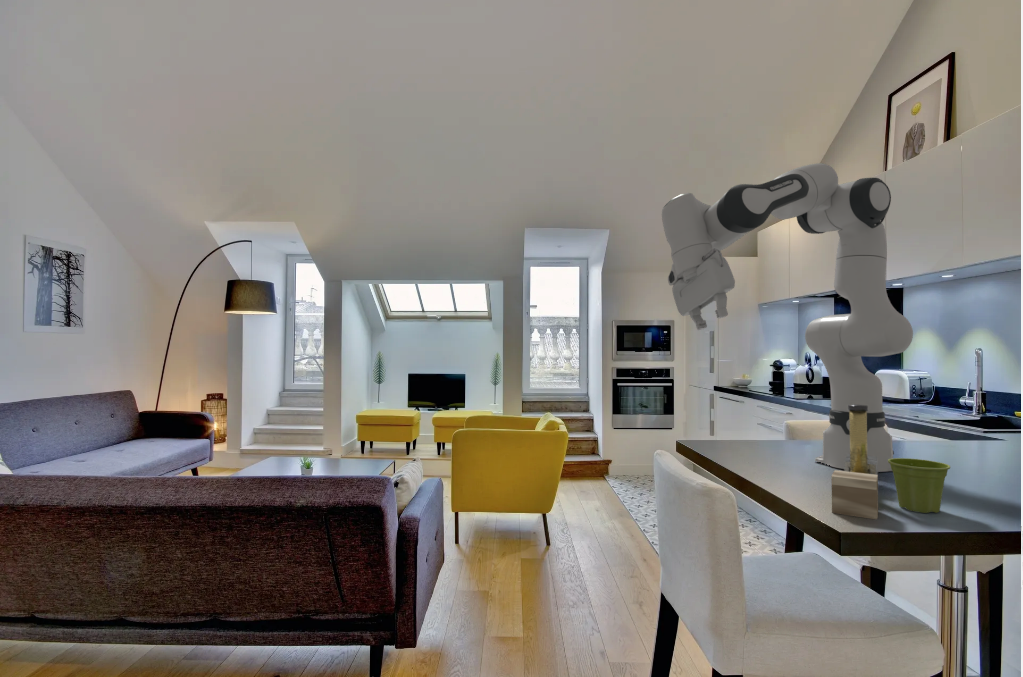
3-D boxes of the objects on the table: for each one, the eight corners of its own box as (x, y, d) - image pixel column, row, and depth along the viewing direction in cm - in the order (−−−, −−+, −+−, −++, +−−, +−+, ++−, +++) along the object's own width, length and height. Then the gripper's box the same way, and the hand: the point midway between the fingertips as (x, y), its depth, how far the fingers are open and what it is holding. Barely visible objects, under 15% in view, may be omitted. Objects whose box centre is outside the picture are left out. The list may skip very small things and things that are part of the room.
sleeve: (848, 480, 124) (847, 454, 124) (877, 483, 121) (877, 456, 121) (844, 489, 116) (844, 461, 116) (876, 493, 112) (875, 464, 112)
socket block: (835, 505, 105) (834, 470, 105) (878, 511, 101) (877, 474, 101) (831, 512, 100) (831, 476, 100) (877, 519, 96) (876, 481, 96)
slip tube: (853, 474, 123) (852, 399, 123) (871, 476, 121) (870, 400, 122) (847, 493, 107) (845, 407, 107) (867, 496, 105) (866, 408, 105)
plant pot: (890, 499, 108) (890, 455, 109) (951, 507, 103) (950, 461, 103) (886, 510, 101) (885, 463, 101) (951, 520, 95) (950, 470, 95)
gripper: (731, 242, 111) (751, 306, 108) (688, 277, 130) (704, 332, 127) (703, 247, 110) (722, 311, 107) (664, 281, 129) (679, 337, 126)
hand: (712, 323), depth 117 cm, fingers open, 8 cm apart
